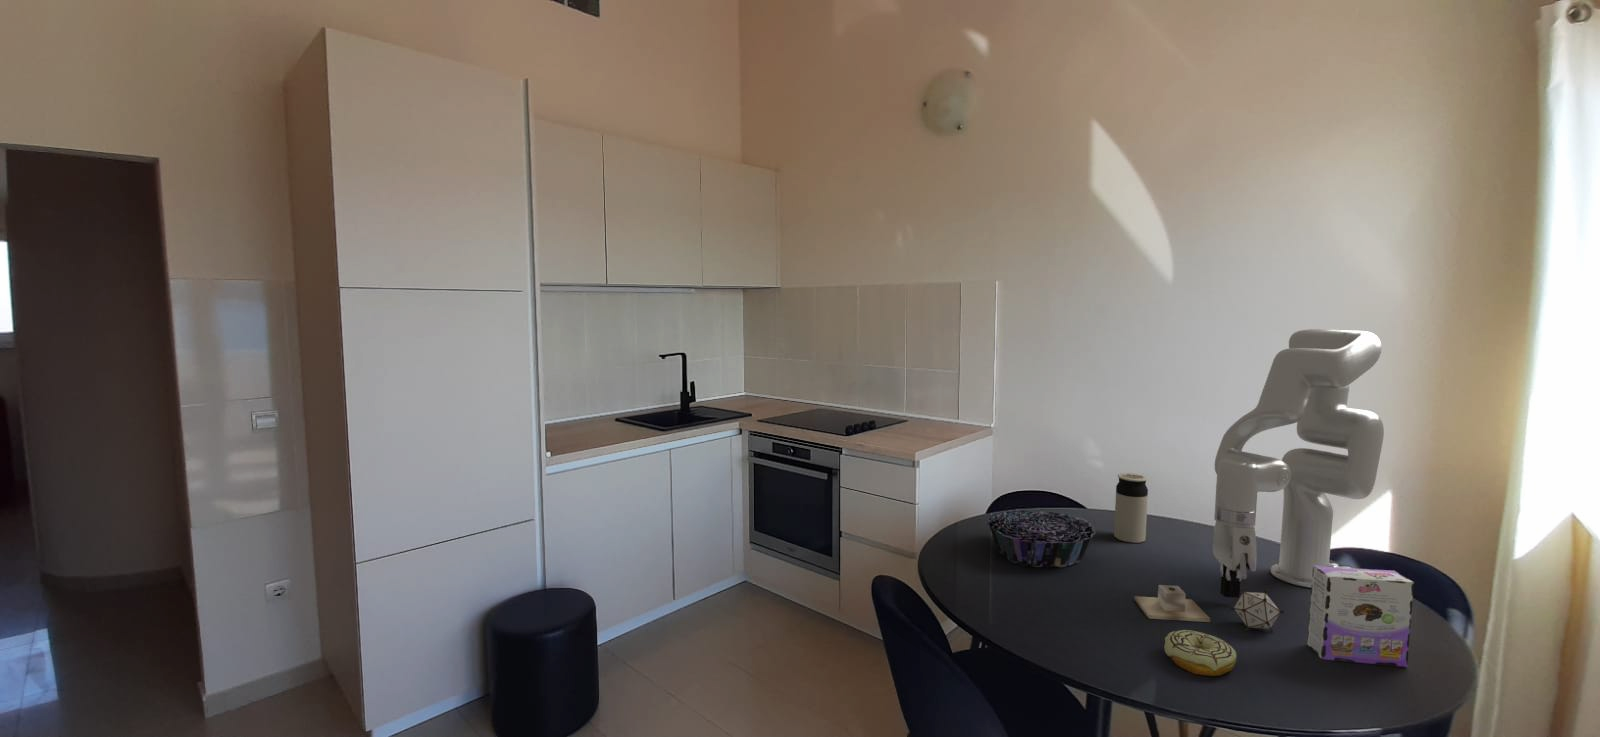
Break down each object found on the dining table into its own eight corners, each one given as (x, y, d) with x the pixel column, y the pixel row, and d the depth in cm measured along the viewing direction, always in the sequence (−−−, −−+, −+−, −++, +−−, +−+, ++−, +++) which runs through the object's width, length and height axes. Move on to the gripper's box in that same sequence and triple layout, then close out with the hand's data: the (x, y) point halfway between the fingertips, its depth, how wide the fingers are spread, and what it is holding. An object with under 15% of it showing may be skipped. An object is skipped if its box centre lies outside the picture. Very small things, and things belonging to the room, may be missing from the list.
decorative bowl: (978, 542, 191) (976, 509, 190) (1076, 536, 190) (1074, 502, 189) (1002, 580, 166) (1000, 541, 165) (1115, 572, 164) (1113, 533, 163)
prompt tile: (1191, 602, 148) (1192, 581, 148) (1210, 622, 139) (1211, 599, 139) (1134, 599, 150) (1135, 578, 150) (1149, 618, 141) (1150, 596, 141)
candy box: (1388, 652, 127) (1395, 569, 126) (1408, 668, 122) (1416, 582, 120) (1305, 644, 131) (1311, 563, 129) (1321, 660, 125) (1328, 575, 123)
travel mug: (1150, 543, 184) (1154, 480, 182) (1122, 543, 184) (1124, 480, 182) (1136, 533, 192) (1139, 472, 190) (1109, 533, 192) (1111, 472, 190)
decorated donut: (1155, 662, 125) (1156, 641, 124) (1175, 640, 133) (1176, 620, 132) (1225, 687, 117) (1226, 665, 116) (1241, 661, 125) (1243, 640, 124)
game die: (1263, 650, 135) (1283, 627, 129) (1218, 624, 140) (1236, 601, 133) (1276, 618, 140) (1296, 594, 133) (1232, 594, 144) (1250, 570, 138)
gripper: (1272, 527, 138) (1266, 612, 140) (1236, 505, 152) (1231, 582, 154) (1232, 525, 139) (1227, 610, 141) (1201, 504, 153) (1196, 580, 155)
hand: (1229, 595), depth 147 cm, fingers closed
